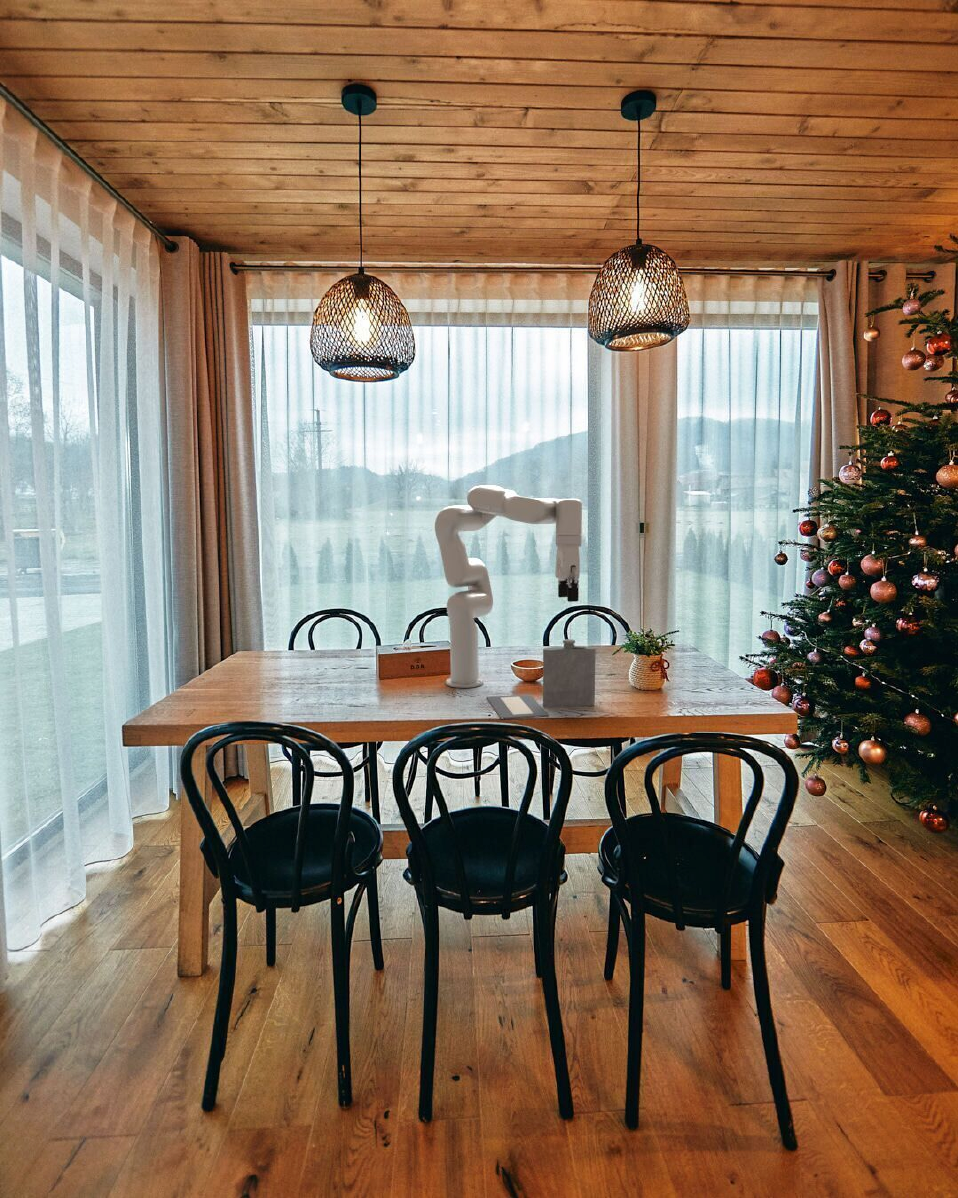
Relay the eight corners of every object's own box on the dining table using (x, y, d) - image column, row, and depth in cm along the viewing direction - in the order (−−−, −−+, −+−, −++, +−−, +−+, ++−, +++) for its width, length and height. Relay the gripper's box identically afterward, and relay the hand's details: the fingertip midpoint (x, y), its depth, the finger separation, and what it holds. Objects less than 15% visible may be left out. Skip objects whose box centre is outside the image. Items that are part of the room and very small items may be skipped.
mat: (486, 698, 217) (486, 696, 217) (529, 695, 219) (529, 694, 219) (501, 719, 195) (501, 717, 195) (548, 716, 198) (548, 714, 198)
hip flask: (543, 707, 206) (544, 642, 204) (541, 703, 210) (541, 639, 208) (595, 705, 208) (596, 640, 205) (592, 702, 212) (593, 638, 209)
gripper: (548, 540, 210) (548, 595, 212) (564, 543, 193) (563, 603, 195) (572, 539, 211) (571, 595, 213) (590, 542, 194) (589, 602, 196)
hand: (568, 599), depth 204 cm, fingers open, 9 cm apart
